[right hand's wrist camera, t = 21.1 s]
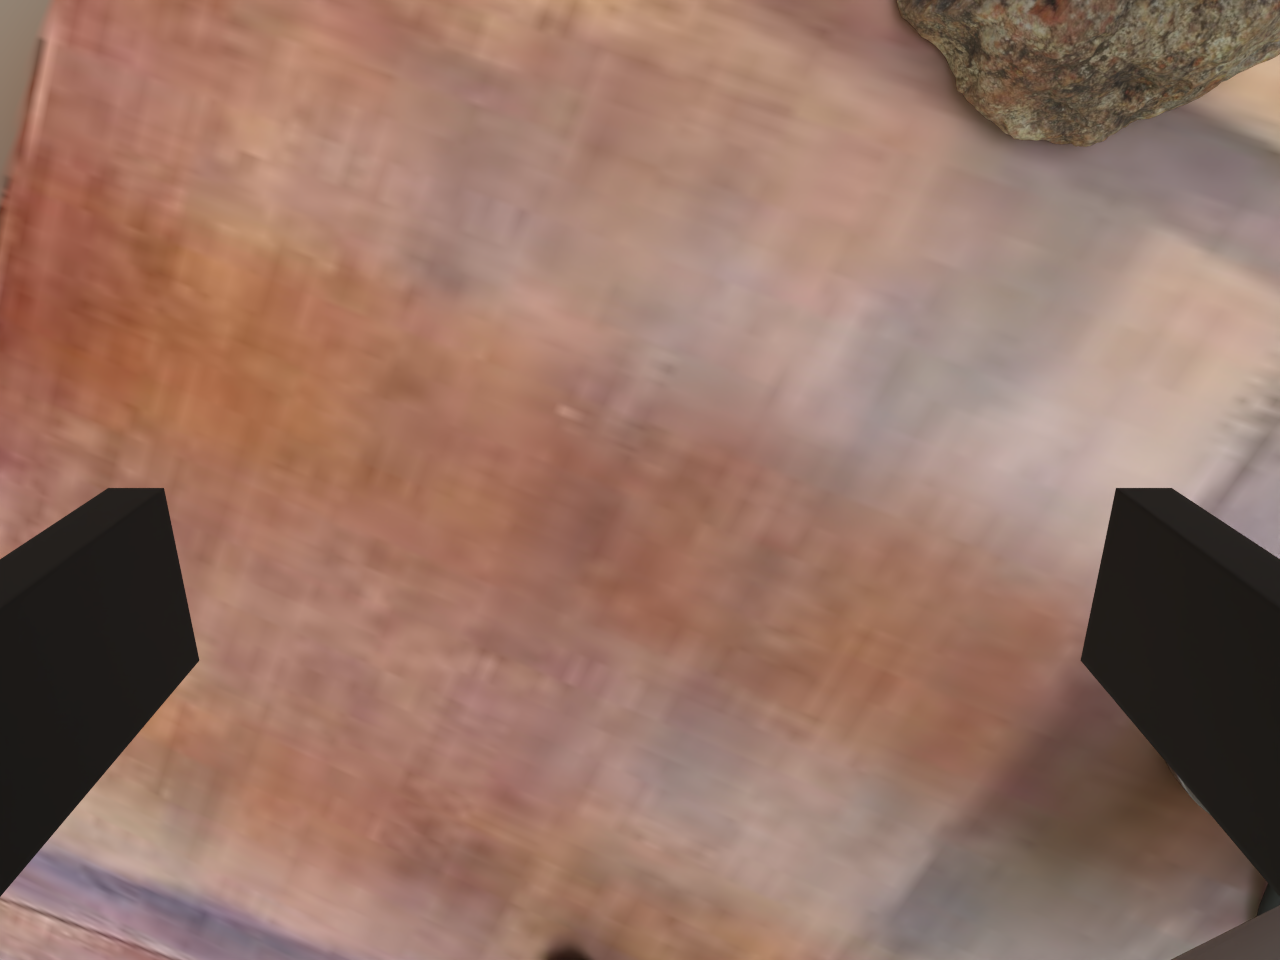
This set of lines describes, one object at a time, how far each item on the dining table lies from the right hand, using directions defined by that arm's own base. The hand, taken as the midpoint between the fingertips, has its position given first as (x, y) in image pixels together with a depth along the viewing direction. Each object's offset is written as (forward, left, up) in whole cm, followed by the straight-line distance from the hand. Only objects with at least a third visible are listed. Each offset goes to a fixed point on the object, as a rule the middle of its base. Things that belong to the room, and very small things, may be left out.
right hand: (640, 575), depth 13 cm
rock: (+15, -14, -30) cm, 37 cm away
